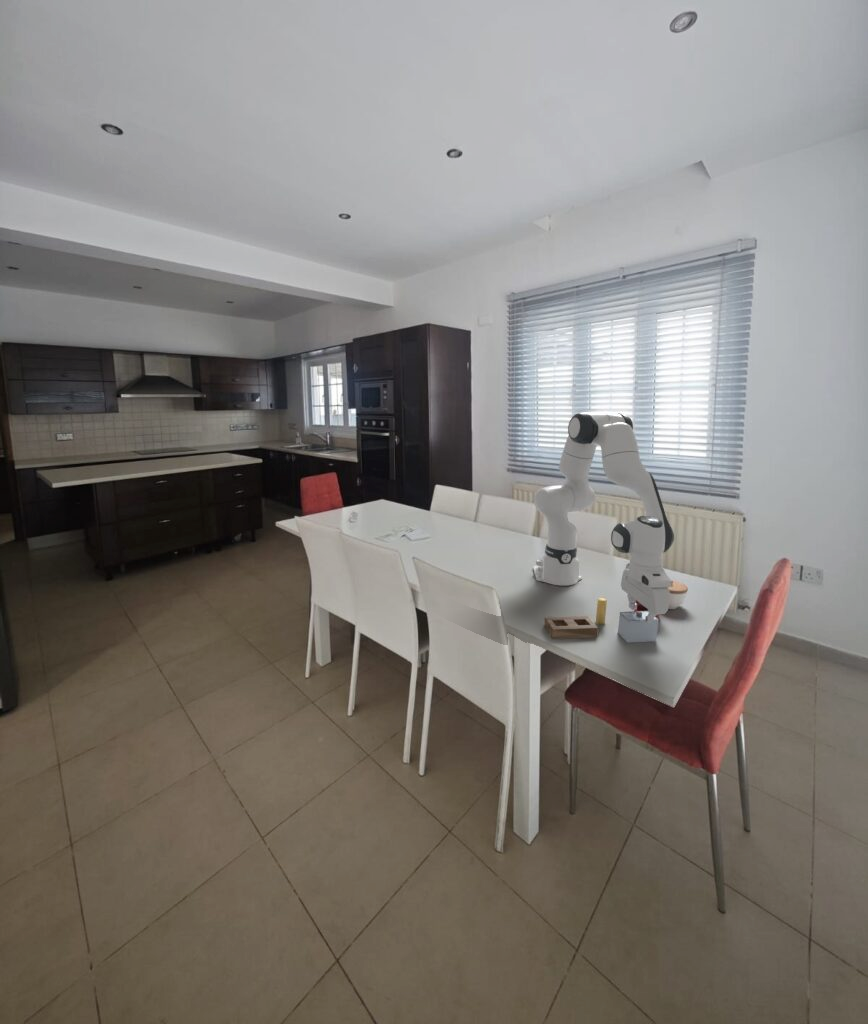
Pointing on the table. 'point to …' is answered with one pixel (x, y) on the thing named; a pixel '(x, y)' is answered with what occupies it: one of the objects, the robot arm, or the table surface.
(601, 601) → the peg
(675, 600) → the lidded jar
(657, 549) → the robot arm
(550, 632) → the socket board
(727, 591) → the table surface
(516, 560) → the table surface
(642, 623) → the cover
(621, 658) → the table surface
